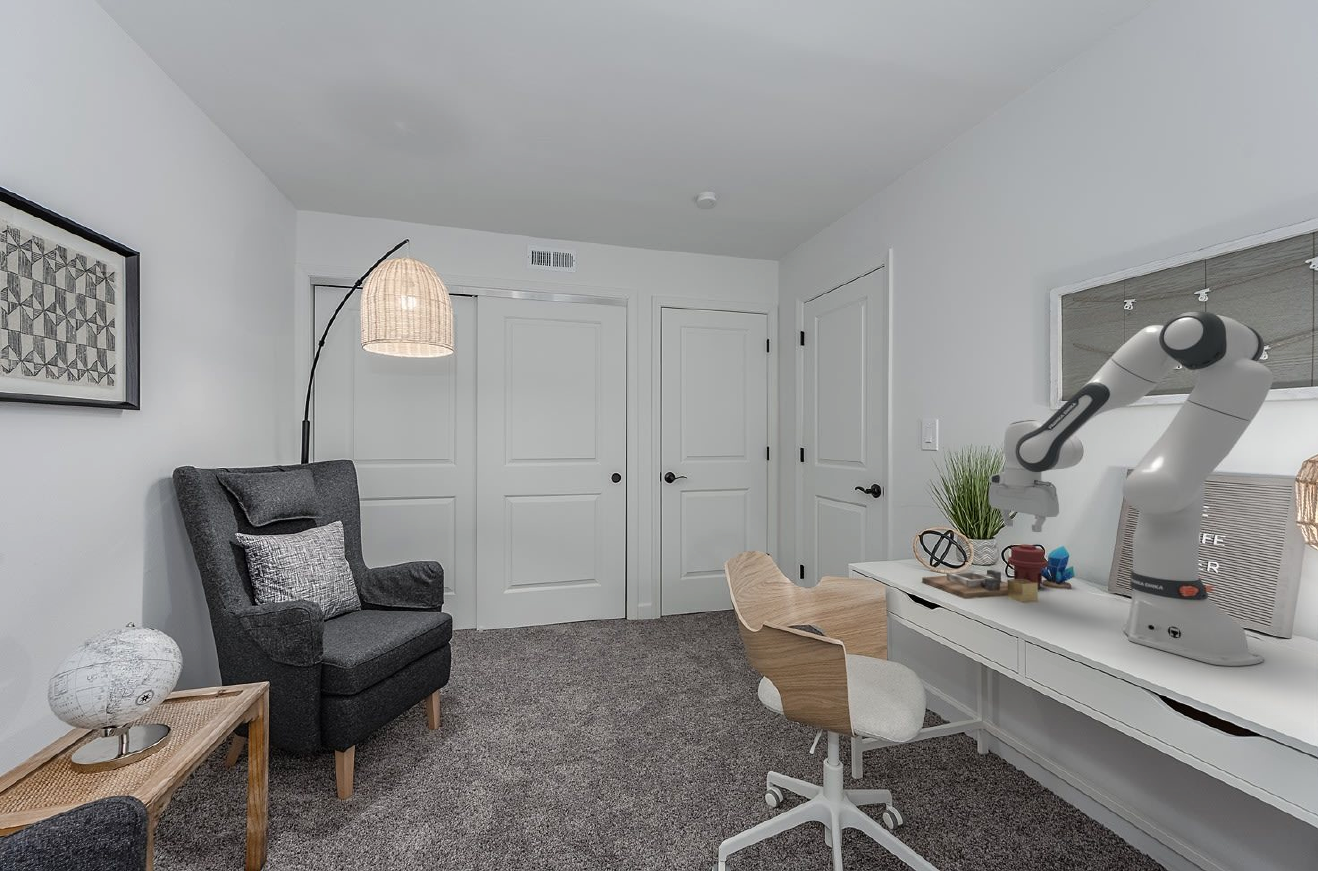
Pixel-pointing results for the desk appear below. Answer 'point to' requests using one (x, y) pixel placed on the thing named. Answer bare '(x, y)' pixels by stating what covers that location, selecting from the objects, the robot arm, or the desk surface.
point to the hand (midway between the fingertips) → (1022, 528)
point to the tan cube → (1022, 590)
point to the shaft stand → (970, 584)
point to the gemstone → (1058, 569)
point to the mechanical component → (1028, 562)
